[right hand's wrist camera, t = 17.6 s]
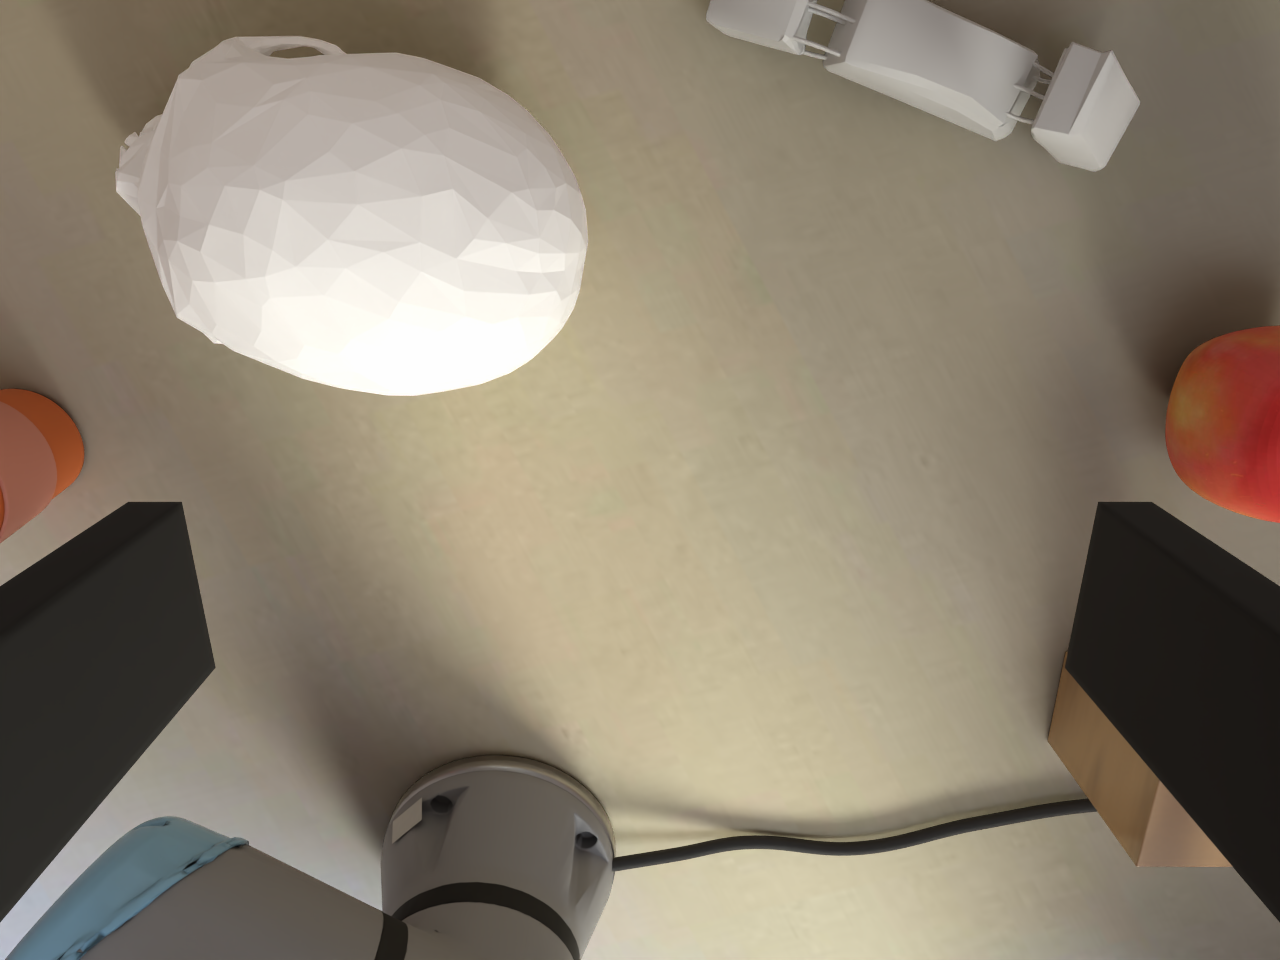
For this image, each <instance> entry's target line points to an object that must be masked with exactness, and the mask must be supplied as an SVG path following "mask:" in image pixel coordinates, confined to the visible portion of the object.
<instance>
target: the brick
mask: <svg viewBox="0 0 1280 960" xmlns="http://www.w3.org/2000/svg"><path fill="white" fill-rule="evenodd" d="M1067 653H1068V651H1067V652H1066V653H1065V658H1064V662H1063V667H1062V672H1061V677H1060V682H1059V687H1058V692H1057V697H1056V702H1055V707H1054V712H1053V717H1052V722H1051V727H1050V732H1049V737H1048V742H1049V744H1050V745H1051V747H1052V748H1053V749H1054V751H1055V752H1056V754H1057V755H1058V756H1059V758H1060V759H1061V761H1062V762H1063V764H1064V765H1065V766H1066V768H1067V769H1068V771H1069V772H1070V773H1071V775H1072V776H1073V778H1074V779H1075V780H1076V782H1077V783H1078V785H1079V786H1080V788H1081V789H1082V790H1083V792H1084V793H1085V795H1086V796H1087V797H1088V799H1089V800H1090V802H1091V803H1092V804H1093V806H1094V807H1095V809H1096V810H1097V812H1098V813H1099V814H1100V816H1101V817H1102V819H1103V820H1104V821H1105V823H1106V824H1107V826H1108V827H1109V828H1110V830H1111V831H1112V833H1113V834H1114V836H1115V837H1116V838H1117V840H1118V841H1119V843H1120V844H1121V845H1122V847H1123V848H1124V850H1125V851H1126V852H1127V854H1128V855H1129V857H1130V858H1131V860H1132V861H1133V862H1134V864H1135V865H1136V866H1137V867H1233V866H1232V865H1231V864H1230V863H1229V862H1228V860H1227V859H1226V858H1225V857H1224V856H1223V855H1222V853H1221V852H1220V851H1219V850H1218V849H1217V847H1216V846H1215V845H1214V844H1213V843H1212V842H1211V840H1210V839H1209V838H1208V837H1207V836H1206V834H1205V833H1204V832H1203V831H1202V830H1201V828H1200V827H1199V826H1198V825H1197V824H1196V823H1195V821H1194V820H1193V819H1192V818H1191V817H1190V815H1189V814H1188V813H1187V812H1186V811H1185V810H1184V808H1183V807H1182V806H1181V805H1180V804H1179V802H1178V801H1177V800H1176V799H1175V798H1174V797H1173V795H1172V794H1171V793H1170V792H1169V791H1168V789H1167V788H1166V787H1165V786H1164V785H1163V784H1162V782H1161V781H1160V780H1159V779H1158V778H1157V776H1156V775H1155V774H1154V773H1153V772H1152V770H1151V769H1150V768H1149V767H1148V766H1147V765H1146V763H1145V762H1144V761H1143V760H1142V759H1141V757H1140V756H1139V755H1138V754H1137V753H1136V752H1135V750H1134V749H1133V748H1132V747H1131V746H1130V744H1129V743H1128V742H1127V741H1126V740H1125V739H1124V737H1123V736H1122V735H1121V734H1120V733H1119V731H1118V730H1117V729H1116V728H1115V727H1114V726H1113V724H1112V723H1111V722H1110V721H1109V720H1108V718H1107V717H1106V716H1105V715H1104V714H1103V712H1102V711H1101V710H1100V709H1099V708H1098V707H1097V705H1096V704H1095V703H1094V702H1093V701H1092V699H1091V698H1090V697H1089V696H1088V695H1087V694H1086V692H1085V691H1084V690H1083V689H1082V688H1081V686H1080V685H1079V684H1078V683H1077V682H1076V681H1075V679H1074V678H1073V677H1072V676H1071V675H1070V673H1069V672H1068V671H1067V670H1066V669H1065V663H1066V658H1067Z"/></svg>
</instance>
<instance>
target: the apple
mask: <svg viewBox="0 0 1280 960" xmlns="http://www.w3.org/2000/svg"><path fill="white" fill-rule="evenodd" d="M1165 437H1166V446H1167V450H1168V454H1169V457H1170V461H1171V463H1172V465H1173V467H1174V469H1175V471H1176V473H1177V474H1178V476H1179V477H1180V478H1181V480H1182V481H1183V482H1184V483H1185V484H1186V485H1187V486H1188V487H1189V488H1190V489H1191V490H1193V491H1194V492H1196V493H1197V494H1199V495H1200V496H1202V497H1203V498H1205V499H1207V500H1209V501H1211V502H1213V503H1215V504H1216V505H1218V506H1221V507H1223V508H1226V509H1228V510H1231V511H1233V512H1236V513H1239V514H1243V515H1246V516H1249V517H1253V518H1257V519H1261V520H1266V521H1271V522H1278V523H1280V326H1265V327H1257V328H1251V329H1245V330H1239V331H1235V332H1231V333H1228V334H1225V335H1222V336H1219V337H1216V338H1213V339H1211V340H1209V341H1207V342H1205V343H1203V344H1201V345H1200V346H1198V347H1197V348H1196V349H1194V350H1193V351H1192V352H1191V353H1190V354H1189V355H1188V356H1187V358H1186V359H1185V361H1184V362H1183V364H1182V366H1181V368H1180V370H1179V372H1178V375H1177V377H1176V380H1175V382H1174V385H1173V388H1172V391H1171V395H1170V399H1169V403H1168V408H1167V415H1166V429H1165Z"/></svg>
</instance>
